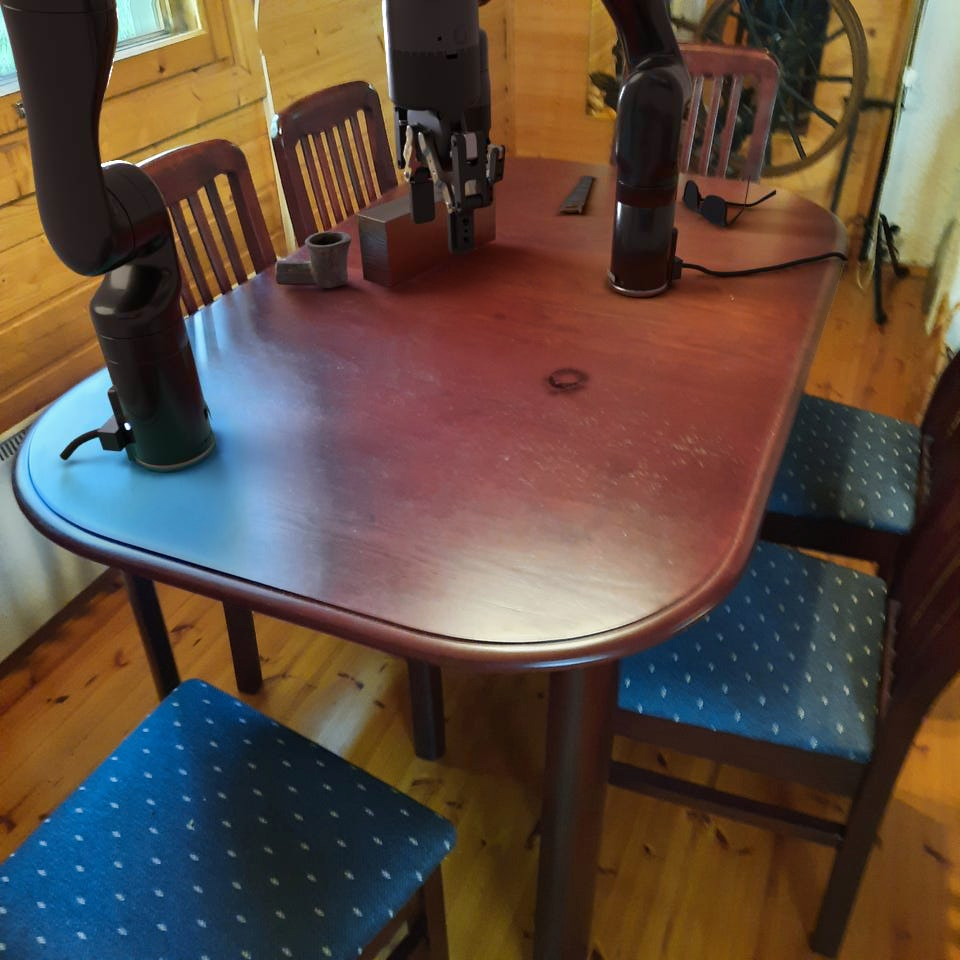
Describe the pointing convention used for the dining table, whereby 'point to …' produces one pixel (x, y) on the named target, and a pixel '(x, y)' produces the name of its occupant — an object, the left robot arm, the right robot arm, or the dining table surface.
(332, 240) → the pipe
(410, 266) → the box
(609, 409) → the dining table surface
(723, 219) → the sunglasses
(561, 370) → the necklace
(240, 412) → the dining table surface
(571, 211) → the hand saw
